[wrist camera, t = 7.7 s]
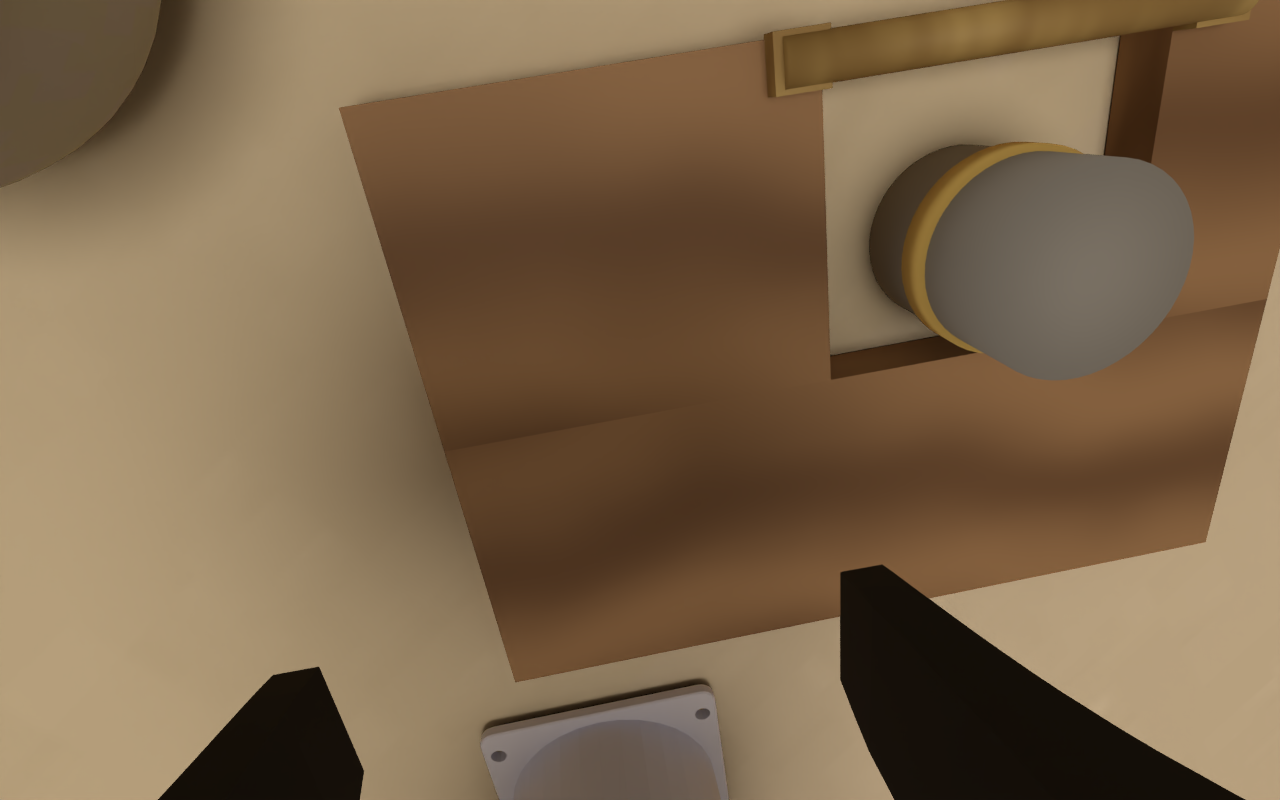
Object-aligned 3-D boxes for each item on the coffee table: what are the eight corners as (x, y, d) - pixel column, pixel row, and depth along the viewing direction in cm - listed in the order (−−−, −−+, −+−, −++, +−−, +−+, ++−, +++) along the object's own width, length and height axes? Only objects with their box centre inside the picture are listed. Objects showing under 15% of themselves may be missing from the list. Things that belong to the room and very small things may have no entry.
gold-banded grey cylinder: (1050, 132, 17) (1231, 139, 12) (1018, 312, 19) (1166, 376, 14) (871, 145, 17) (990, 157, 12) (857, 326, 19) (956, 397, 14)
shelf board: (1166, 515, 23) (1234, 561, 20) (517, 645, 22) (513, 709, 19) (1288, -47, 16) (1410, -71, 14) (357, 102, 15) (321, 102, 13)
